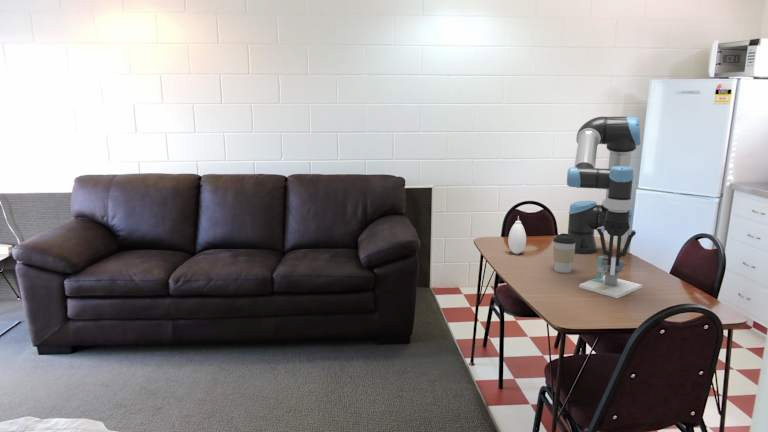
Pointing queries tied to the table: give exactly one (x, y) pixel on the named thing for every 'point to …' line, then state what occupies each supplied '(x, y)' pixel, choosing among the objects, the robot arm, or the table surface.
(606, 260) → the knob
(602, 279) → the lock base
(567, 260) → the coffee cup
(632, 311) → the table surface
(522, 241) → the sauce bottle
